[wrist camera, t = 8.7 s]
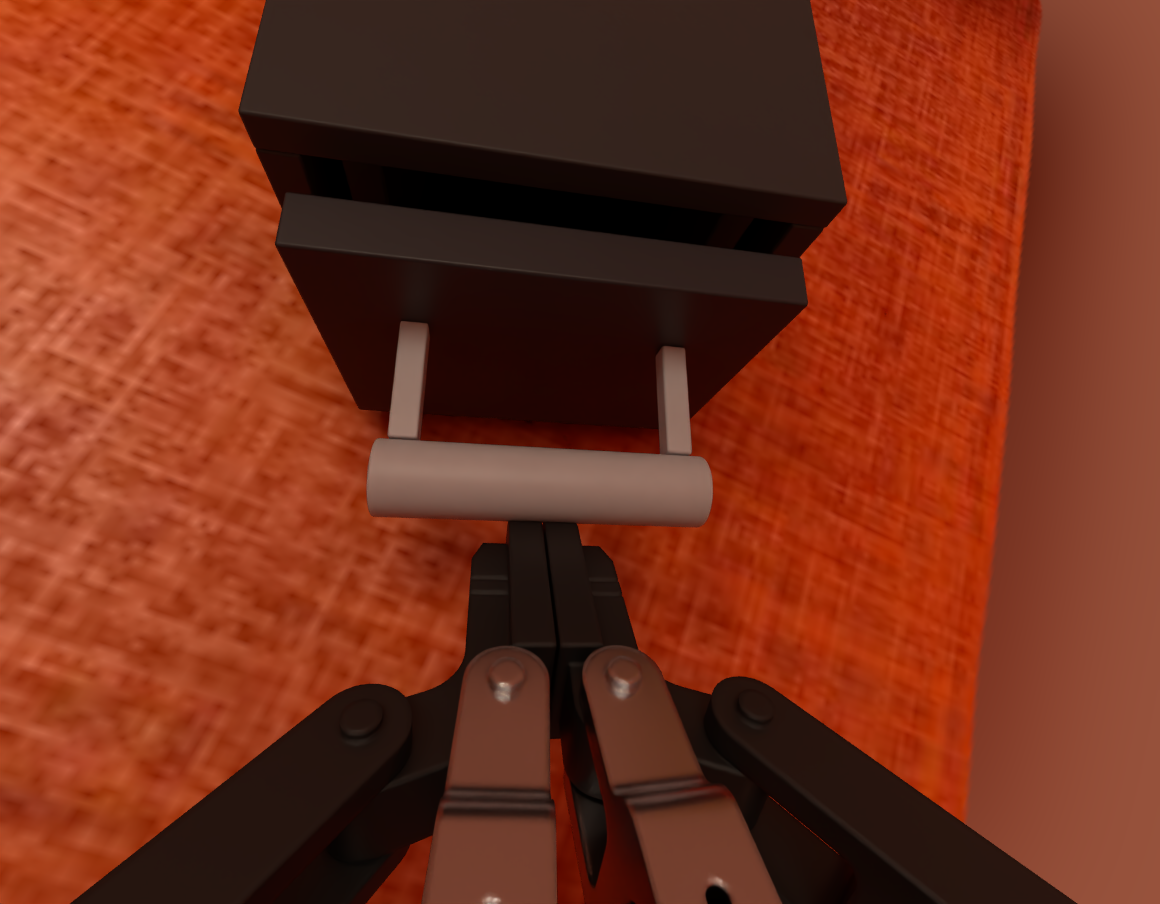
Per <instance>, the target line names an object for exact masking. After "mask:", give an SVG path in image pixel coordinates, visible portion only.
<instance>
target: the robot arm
mask: <svg viewBox="0 0 1160 904" xmlns="http://www.w3.org/2000/svg"><path fill="white" fill-rule="evenodd" d="M550 739H561V746H562V755H563V764H564V774H563V782H564V789H565V794H566V800H567V805H568V811H569V816H570V822H571V828H572V833H573V839H574V844H575V850H576V855H577V861H578V866H579V872H580V877H581V883H582V888H583V895H584V903H585V904H1077V903H1076V902H1074V901H1073V900H1071V899H1070V898H1069V897H1067V896H1066V895H1064V894H1063V893H1062V892H1060V891H1059V890H1057V889H1056V888H1055V887H1053V886H1052V885H1050V884H1049V883H1047V882H1046V881H1045V880H1043V879H1041V878H1040V877H1039V876H1038V875H1036V874H1035V873H1033V872H1032V871H1030V870H1029V869H1028V868H1026V867H1025V866H1023V865H1022V864H1020V863H1019V862H1018V861H1016V860H1015V859H1014V858H1012V857H1011V856H1009V855H1008V854H1006V853H1005V852H1004V851H1002V850H1001V849H999V848H998V847H996V846H995V845H994V844H992V843H991V842H990V841H988V840H986V839H985V838H984V837H982V836H981V835H979V834H978V833H977V832H975V831H974V830H972V829H971V828H970V827H968V826H967V825H965V824H964V823H963V822H961V821H960V820H958V819H957V818H956V817H954V816H953V815H951V814H950V813H949V812H947V811H946V810H944V809H943V808H941V807H940V806H939V805H937V804H936V803H934V802H933V801H932V800H930V799H929V798H927V797H926V796H925V795H923V794H922V793H920V792H919V791H917V790H916V789H915V788H913V787H912V786H910V785H909V784H908V783H906V782H905V781H903V780H902V779H900V778H899V777H898V776H896V775H895V774H893V773H892V772H891V771H889V770H888V769H886V768H885V767H884V766H882V765H881V764H879V763H878V762H876V761H875V760H874V759H872V758H871V757H869V756H868V755H867V754H865V753H864V752H862V751H861V750H859V749H858V748H857V747H855V746H854V745H852V744H851V743H850V742H848V741H847V740H845V739H844V738H843V737H841V736H840V735H838V734H837V733H835V732H834V731H833V730H831V729H830V728H828V727H827V726H826V725H824V724H823V723H821V722H820V721H818V720H817V719H816V718H814V717H813V716H811V715H810V714H809V713H807V712H806V711H804V710H803V709H802V708H800V707H799V706H797V705H796V704H794V703H793V702H792V701H790V700H789V699H787V698H786V697H785V696H783V695H782V694H780V693H779V692H777V691H776V690H775V689H773V688H772V687H770V686H768V685H767V684H765V683H763V682H761V681H758V680H755V679H752V678H748V677H740V676H738V677H730V678H726V679H724V680H722V681H721V682H719V683H718V684H717V685H716V687H715V688H714V690H713V693H712V695H710V694H707V693H703V692H699V691H695V690H692V689H688V688H684V687H681V686H678V685H675V684H672V683H670V682H668V681H666V680H664V677H663V675H662V673H661V671H660V669H659V667H658V666H657V665H656V663H655V662H654V661H653V660H652V659H651V658H650V657H648V656H647V655H646V654H644V653H642V652H641V651H639V650H638V647H637V644H636V640H635V637H634V633H633V630H632V626H631V623H630V619H629V616H628V612H627V609H626V606H625V602H624V599H623V597H622V592H621V588H620V585H619V582H618V578H617V574H616V571H615V567H614V564H613V561H612V560H611V559H610V558H609V557H608V556H607V554H606V553H605V552H604V551H603V550H602V549H601V548H600V547H599V546H582V544H581V540H580V535H579V530H578V526H577V524H576V523H560V522H543V525H542V522H535V521H508V525H507V536H506V544H497V543H483V544H482V545H481V546H480V548H479V549H478V551H477V552H476V553H475V555H474V556H473V557H472V563H471V578H470V592H469V606H468V621H467V635H466V649H465V656H464V659H463V662H462V664H461V665H460V667H459V669H458V670H457V671H456V672H455V674H454V675H453V676H452V677H450V678H449V679H448V680H447V681H445V682H444V683H442V684H441V685H439V686H437V687H435V688H433V689H430V690H427V691H425V692H421V693H418V694H415V695H411V696H408V697H405V696H404V695H403V694H402V693H400V692H399V691H398V690H396V689H394V688H392V687H389V686H386V685H381V684H364V685H359V686H354V687H351V688H349V689H346V690H344V691H342V692H340V693H338V694H336V695H335V696H333V697H332V698H330V699H329V700H328V701H326V702H325V703H324V704H323V705H321V706H320V707H319V708H318V709H316V710H315V711H314V712H312V713H311V714H310V715H309V716H307V717H306V718H305V719H304V720H302V721H301V722H300V723H299V724H297V725H296V726H295V727H293V728H292V729H291V730H290V731H288V732H287V733H286V734H285V735H283V736H282V737H281V738H280V739H278V740H277V741H276V742H274V743H273V744H272V745H271V746H269V747H268V748H267V749H266V750H264V751H263V752H262V753H260V754H259V755H258V756H257V757H255V758H254V759H253V760H252V761H250V762H249V763H248V764H247V765H245V766H244V767H243V768H241V769H240V770H239V771H238V772H236V773H235V774H234V775H233V776H231V777H230V778H229V779H227V780H226V781H225V782H224V783H222V784H221V785H220V786H219V787H217V788H216V789H215V790H214V791H212V792H211V793H210V794H208V795H207V796H206V797H205V798H203V799H202V800H201V801H200V802H198V803H197V804H196V805H195V806H193V807H192V808H191V809H189V810H188V811H187V812H186V813H184V814H183V815H182V816H181V817H179V818H178V819H177V820H175V821H174V822H173V823H172V824H170V825H169V826H168V827H167V828H165V829H164V830H163V831H162V832H160V833H159V834H158V835H156V836H155V837H154V838H153V839H151V840H150V841H149V842H148V843H146V844H145V845H144V846H142V847H141V848H140V849H139V850H137V851H136V852H135V853H134V854H132V855H131V856H130V857H129V858H127V859H126V860H125V861H123V862H122V863H121V864H120V865H118V866H117V867H116V868H115V869H113V870H112V871H111V872H109V873H108V874H107V875H106V876H104V877H103V878H102V879H101V880H99V881H98V882H97V883H96V884H94V885H93V886H92V887H90V888H89V889H88V890H87V891H85V892H84V893H83V894H82V895H80V896H79V897H78V898H77V899H75V900H74V901H73V902H71V903H70V904H366V903H367V901H368V900H369V899H370V898H371V897H372V895H373V894H374V893H375V892H376V891H377V889H378V888H379V887H380V886H381V885H382V883H383V882H384V881H385V880H386V879H387V877H388V876H389V875H390V874H391V873H392V871H393V870H394V869H395V868H396V867H397V865H398V864H399V863H400V862H401V860H402V859H403V857H404V856H405V854H406V852H407V851H408V849H409V846H410V844H413V843H415V842H417V841H420V840H422V839H425V838H427V837H429V836H432V835H433V838H432V844H431V850H430V856H429V862H428V868H427V874H426V879H425V885H424V891H423V897H422V903H421V904H557V863H556V815H555V804H554V800H553V799H551V794H550ZM769 796H770V797H771V798H770V797H769ZM772 798H773V799H774V800H775V801H776V802H777V803H776V802H775V801H774V800H773V799H772ZM778 803H779V804H780V805H781V806H782V807H783V808H782V807H781V806H780V805H779V804H778ZM784 808H785V809H786V810H787V811H788V812H789V813H788V812H787V811H786V810H785V809H784ZM790 813H791V814H792V815H793V816H794V817H795V818H797V819H798V820H799V821H800V822H801V823H803V824H804V825H805V826H806V827H807V828H809V829H810V830H811V831H812V832H813V833H815V834H816V835H817V836H818V837H819V838H820V839H819V838H818V837H817V836H816V835H815V834H813V833H812V832H811V831H810V830H809V829H807V828H806V827H805V826H804V825H803V824H801V823H800V822H799V821H798V820H797V819H795V818H794V817H793V816H792V815H791V814H790ZM821 839H822V840H823V841H824V842H825V843H826V844H825V843H824V842H823V841H822V840H821ZM827 844H828V845H829V846H830V847H831V848H832V849H831V848H830V847H829V846H828V845H827ZM833 849H834V850H835V851H836V852H837V853H836V852H835V851H834V850H833Z"/></svg>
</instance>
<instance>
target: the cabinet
mask: <svg viewBox="0 0 1160 904" xmlns="http://www.w3.org/2000/svg"><path fill="white" fill-rule="evenodd" d="M239 114H240V117H241V119H242V121H243V123H244V126H245V128H246V130H247V132H248V134H249V137H250V139H251V141H252V143H253V145H254V147H255V148H256V152H257V154H258V157H259V159H260V161H261V163H262V165H263V168H264V170H265V172H266V174H267V177H268V179H269V181H270V183H271V185H272V188H273V190H274V192H275V194H276V197H277V199H278V201H279V203H280V205H281V208H282V207H283V202H284V197H285V193H286V192H292V193H300V194H307V195H315V196H323V197H331V198H339V199H346V200H352V196H351V193H350V189H349V185H348V182H347V178H346V175H345V171H344V167H343V164H342V160H344V161H351V162H358V163H365V164H372V165H379V166H386V167H394V168H401V169H408V170H415V171H422V172H429V173H436V174H444V175H451V176H458V177H465V178H472V179H479V180H486V181H493V182H501V183H508V184H515V185H522V186H529V187H536V188H543V189H551V190H558V191H565V192H572V193H579V194H586V195H593V196H600V197H608V198H615V199H622V200H629V201H636V202H643V203H650V204H658V205H665V206H672V207H679V208H686V209H693V210H700V211H707V212H715V213H722V214H729V215H736V216H743V217H750V218H754V220H753V221H752V223H751V224H750V226H749V227H748V228H747V230H746V231H745V233H744V234H743V236H742V237H741V239H740V240H739V242H738V243H737V245H736V246H735V247H734V249H735V250H743V251H751V252H759V253H766V254H774V255H782V256H790V257H797V258H799V257H800V256H801V255H802V254H803V253H804V252H805V250H806V249H807V248H808V247H809V246H810V245H811V244H812V242H813V241H814V240H815V239H816V238H817V237H818V236H819V234H820V233H821V232H822V231H823V228H825V227H827V226H828V225H829V223H830V222H831V221H832V220H833V219H834V218H835V217H836V215H837V214H838V213H839V212H840V211H841V210H842V209H843V208H844V206H845V205H846V204H847V197H846V192H845V187H844V181H843V176H842V171H841V165H840V160H839V154H838V149H837V144H836V138H835V133H834V128H833V122H832V117H831V111H830V106H829V101H828V95H827V90H826V85H825V79H824V74H823V68H822V63H821V58H820V52H819V47H818V42H817V36H816V31H815V25H814V20H813V15H812V9H811V4H810V0H266V2H265V6H264V10H263V14H262V18H261V22H260V26H259V30H258V34H257V38H256V42H255V46H254V50H253V54H252V58H251V62H250V66H249V70H248V74H247V78H246V82H245V86H244V90H243V94H242V98H241V102H240V106H239Z"/></svg>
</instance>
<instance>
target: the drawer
mask: <svg viewBox="0 0 1160 904" xmlns="http://www.w3.org/2000/svg"><path fill="white" fill-rule="evenodd" d="M342 164H343V167H344V171H345V175H346V178H347V182H348V185H349V189H350V193H351V196H352V200H346V199H339V198H331V197H323V196H315V195H307V194H300V193H292V192H286V193H285V197H284V202H283V207H282V212H281V217H280V222H279V226H278V231H277V236H276V241H275V245H276V248H277V250H278V252H279V254H280V256H281V258H282V259H283V261H284V263H285V265H286V267H287V269H288V271H289V273H290V275H291V277H292V279H293V281H294V283H295V285H296V287H297V289H298V291H299V293H300V295H301V297H302V299H303V301H304V303H305V304H306V306H307V308H308V310H309V312H310V314H311V316H312V318H313V320H314V322H315V324H316V326H317V328H318V330H319V332H320V334H321V336H322V338H323V340H324V342H325V344H326V346H327V347H328V349H329V351H330V353H331V355H332V357H333V359H334V361H335V363H336V365H337V367H338V369H339V371H340V373H341V375H342V377H343V379H344V381H345V383H346V385H347V387H348V389H349V391H350V392H351V394H352V396H353V398H354V400H355V402H356V404H357V406H358V408H359V409H361V410H376V411H390V417H389V426H388V437H389V439H384V438H378V439H376V440H375V442H374V444H373V446H372V449H371V453H370V458H369V464H368V473H367V503H368V509H369V512H370V514H371V516H373V517H399V518H429V519H459V520H489V521H535V522H560V523H579V524H609V525H639V526H669V527H700V526H702V525H703V524H704V523H705V522H706V520H707V518H708V516H709V513H710V509H711V505H712V497H713V483H712V475H711V471H710V468H709V465H708V463H707V462H706V460H705V459H704V458H702V457H699V456H689V455H690V454H691V453H692V445H691V430H690V419H691V418H692V417H693V416H694V415H695V414H696V413H697V412H698V411H699V410H700V409H701V408H702V407H703V406H704V405H705V404H706V403H707V402H708V401H709V400H710V399H711V398H712V397H713V396H714V395H715V394H716V393H717V392H718V391H719V390H721V389H722V388H723V387H724V386H725V385H726V384H727V383H728V382H729V381H730V380H731V379H732V378H733V377H734V376H735V375H736V374H737V373H738V372H739V371H740V370H741V369H742V368H743V367H744V366H745V365H746V364H747V363H748V362H749V361H750V360H751V359H753V358H754V357H755V356H756V355H757V354H758V353H759V352H760V351H761V350H762V349H763V348H764V347H765V346H766V345H767V344H768V343H769V342H770V341H771V340H772V339H773V338H774V337H775V336H776V335H777V334H778V333H779V332H780V331H781V330H782V329H783V328H785V327H786V326H787V325H788V324H789V323H790V322H791V321H792V320H793V319H794V318H795V317H796V316H797V315H798V314H799V313H800V312H801V311H802V310H803V309H804V308H805V307H806V306H807V304H808V300H807V293H806V286H805V279H804V273H803V266H802V260H801V258H797V257H790V256H782V255H774V254H766V253H759V252H751V251H743V250H735V249H734V247H735V246H736V245H737V243H738V242H739V240H740V239H741V237H742V236H743V234H744V233H745V231H746V230H747V228H748V227H749V226H750V224H751V223H752V221H753V220H754V218H750V217H743V216H736V215H729V214H722V213H715V212H707V211H700V210H693V209H686V208H679V207H672V206H665V205H658V204H650V203H643V202H636V201H629V200H622V199H615V198H608V197H600V196H593V195H586V194H579V193H572V192H565V191H558V190H551V189H543V188H536V187H529V186H522V185H515V184H508V183H501V182H493V181H486V180H479V179H472V178H465V177H458V176H451V175H444V174H436V173H429V172H422V171H415V170H408V169H401V168H394V167H386V166H379V165H372V164H365V163H358V162H351V161H344V160H342ZM423 414H437V415H452V416H468V417H483V418H498V419H513V420H529V421H544V422H559V423H574V424H590V425H605V426H620V427H635V428H651V429H659V441H660V454H646V453H629V452H611V451H594V450H576V449H559V448H542V447H524V446H507V445H489V444H472V443H454V442H437V441H420V438H421V427H422V416H423Z"/></svg>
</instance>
